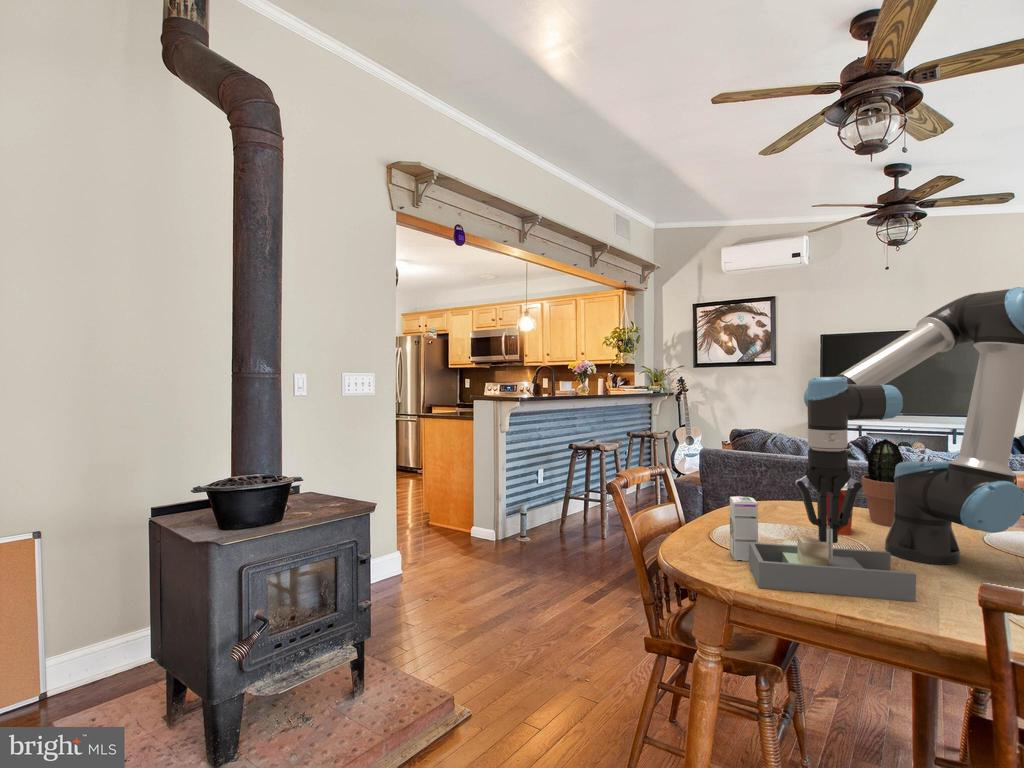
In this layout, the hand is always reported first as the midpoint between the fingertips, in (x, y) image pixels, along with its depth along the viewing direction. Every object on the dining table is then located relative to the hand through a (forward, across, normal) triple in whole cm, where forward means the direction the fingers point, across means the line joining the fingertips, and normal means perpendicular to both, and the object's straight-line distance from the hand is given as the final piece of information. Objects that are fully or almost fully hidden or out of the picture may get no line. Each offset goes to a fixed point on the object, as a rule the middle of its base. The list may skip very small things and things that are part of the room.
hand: (828, 557), depth 124 cm
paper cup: (+6, +14, +42) cm, 44 cm away
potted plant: (+6, +31, +56) cm, 64 cm away
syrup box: (+6, -16, +13) cm, 21 cm away
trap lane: (+6, 0, 0) cm, 6 cm away
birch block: (+2, -3, 0) cm, 3 cm away
